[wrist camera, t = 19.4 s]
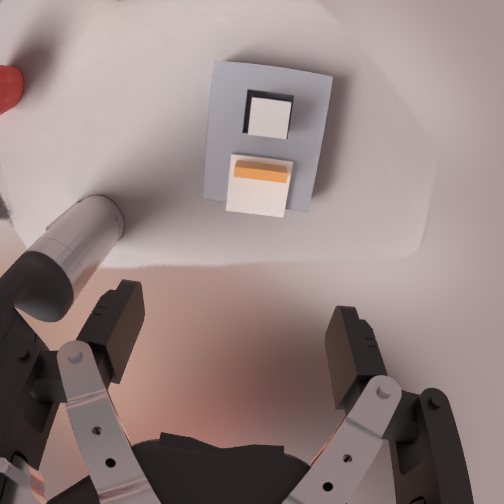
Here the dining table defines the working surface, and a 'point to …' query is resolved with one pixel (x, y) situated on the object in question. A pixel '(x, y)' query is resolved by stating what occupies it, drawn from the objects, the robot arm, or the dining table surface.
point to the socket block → (239, 142)
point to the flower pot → (10, 87)
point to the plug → (269, 117)
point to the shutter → (258, 185)
